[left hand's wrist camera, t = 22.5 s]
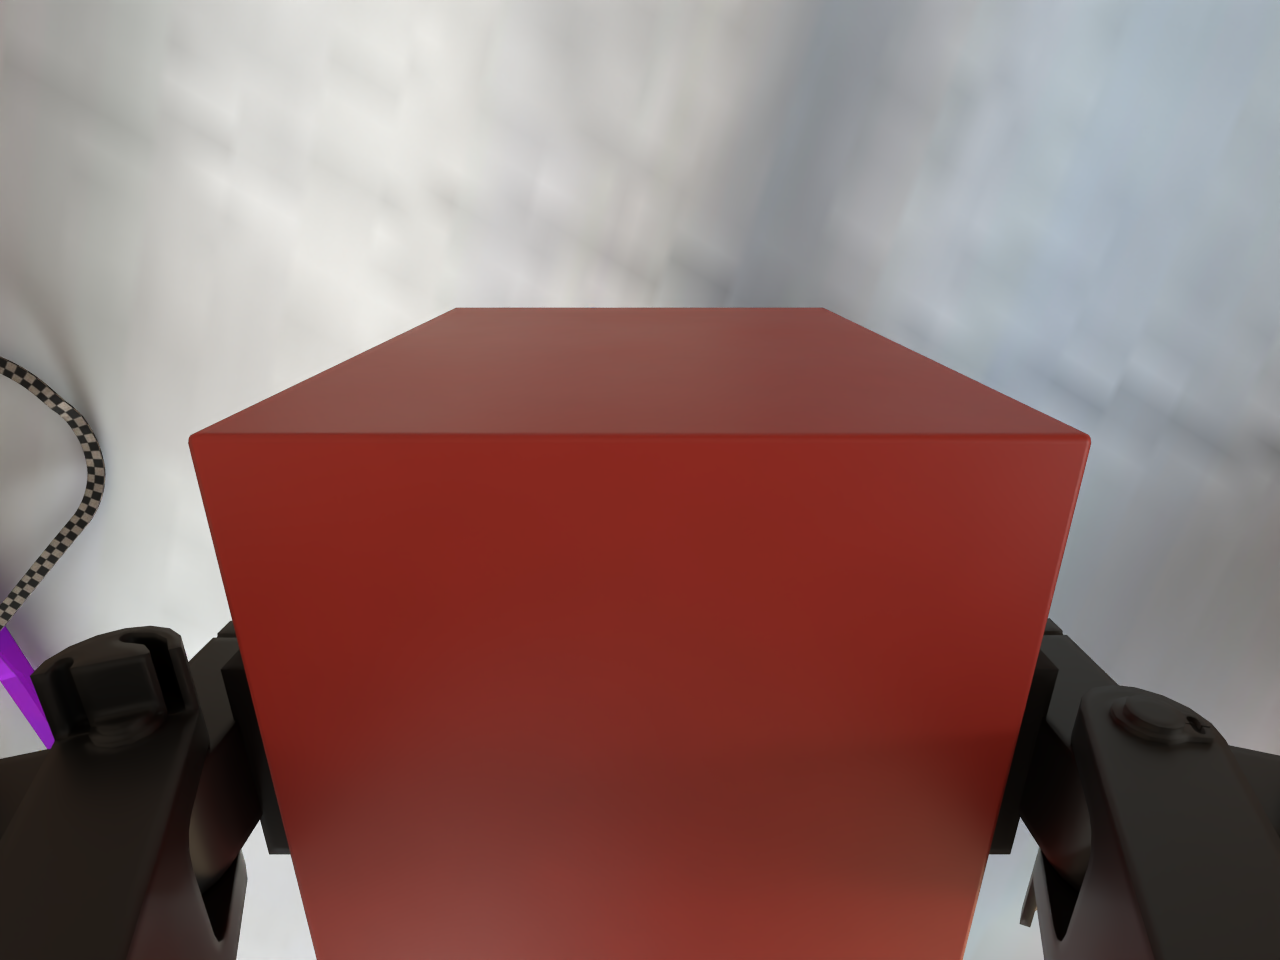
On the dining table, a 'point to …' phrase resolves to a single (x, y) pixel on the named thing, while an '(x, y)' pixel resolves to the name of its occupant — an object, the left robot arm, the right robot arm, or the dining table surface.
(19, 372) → the musical instrument
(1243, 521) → the dining table surface
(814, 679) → the brick
